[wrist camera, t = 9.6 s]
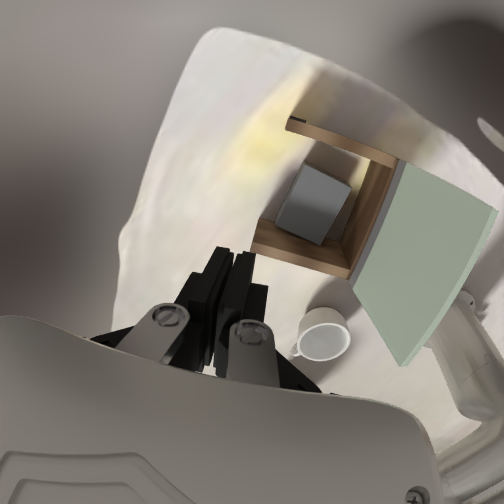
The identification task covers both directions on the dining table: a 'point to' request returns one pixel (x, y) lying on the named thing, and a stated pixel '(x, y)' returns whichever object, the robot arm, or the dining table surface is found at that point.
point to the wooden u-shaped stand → (359, 224)
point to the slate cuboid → (312, 203)
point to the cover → (418, 257)
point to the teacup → (322, 335)
